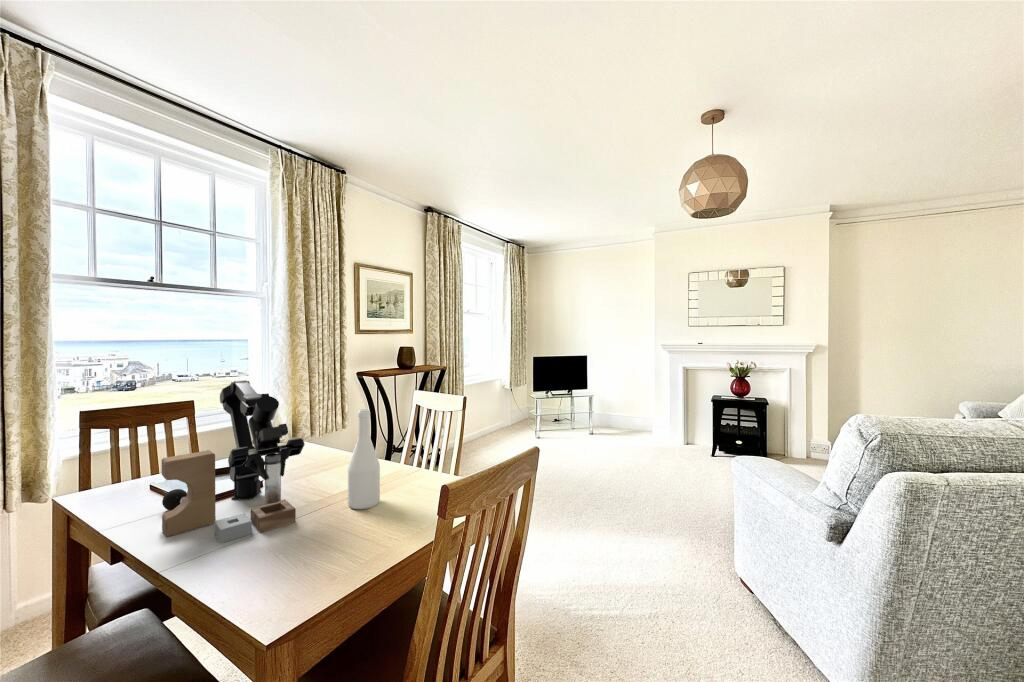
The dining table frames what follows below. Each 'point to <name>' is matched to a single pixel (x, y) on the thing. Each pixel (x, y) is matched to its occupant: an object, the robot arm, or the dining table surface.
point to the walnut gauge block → (273, 515)
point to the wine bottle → (363, 468)
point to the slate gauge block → (232, 527)
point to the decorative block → (191, 492)
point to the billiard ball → (173, 498)
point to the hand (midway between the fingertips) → (274, 477)
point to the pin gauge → (273, 478)
